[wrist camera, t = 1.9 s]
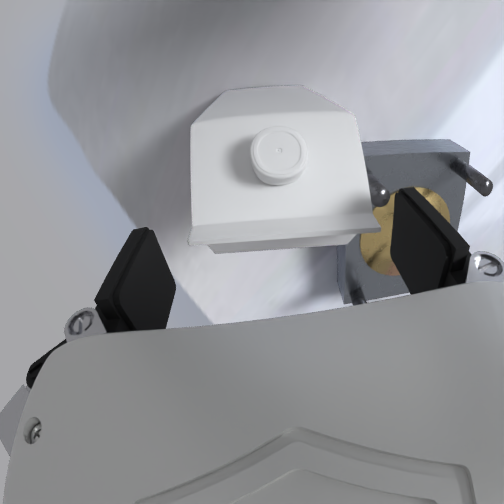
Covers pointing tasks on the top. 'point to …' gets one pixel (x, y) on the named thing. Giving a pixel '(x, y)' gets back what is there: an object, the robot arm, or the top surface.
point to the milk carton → (277, 172)
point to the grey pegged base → (382, 199)
